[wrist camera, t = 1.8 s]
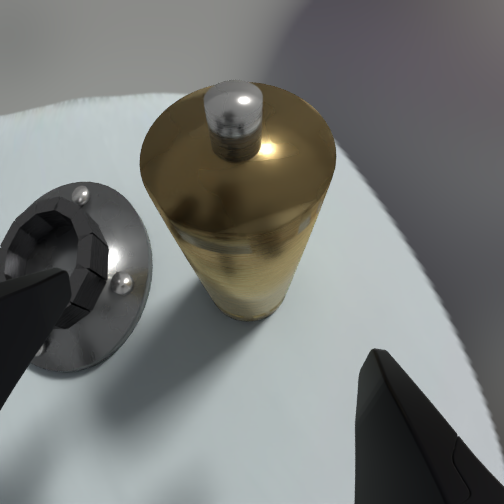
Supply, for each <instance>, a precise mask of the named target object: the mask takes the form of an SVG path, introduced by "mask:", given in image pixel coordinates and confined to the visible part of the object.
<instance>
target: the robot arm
mask: <svg viewBox="0 0 504 504" xmlns="http://www.w3.org/2000/svg"><path fill="white" fill-rule="evenodd" d="M71 296H72V291H71V285H70V279H69V274H68V272H67V271H66V270H64V269H61V268H57V267H56V268H52V269H48V270H44V271H40V272H36V273H32V274H29V275H25V276H21V277H17V278H14V279H10V280H6V281H2V282H0V410H1V409H2V407H3V405H4V403H5V402H6V400H7V399H8V397H9V395H10V394H11V392H12V390H13V389H14V387H15V386H16V384H17V382H18V381H19V379H20V378H21V376H22V375H23V373H24V372H25V370H26V369H27V367H28V366H29V364H30V363H31V361H32V360H33V358H34V357H35V355H36V354H37V352H38V351H39V350H40V348H41V347H42V345H43V344H44V342H45V341H46V339H47V338H48V337H49V335H50V333H51V332H52V330H53V328H54V327H55V325H56V323H57V321H58V320H59V318H60V316H61V315H62V313H63V311H64V310H65V308H66V307H67V305H68V303H69V302H70V300H71ZM354 504H504V486H503V485H502V484H501V483H500V482H499V481H498V480H497V479H496V478H495V477H494V476H493V475H492V474H491V473H490V472H489V471H488V469H487V468H486V467H485V466H484V465H483V464H482V463H481V462H480V461H479V460H478V459H477V457H476V456H475V455H474V454H473V453H472V451H471V450H470V449H469V448H468V447H467V445H466V444H465V443H464V442H463V440H462V439H461V438H460V437H459V436H458V437H457V433H456V432H455V431H454V429H453V428H452V427H451V426H450V425H449V423H448V422H447V421H446V420H445V418H444V417H443V416H442V415H441V414H440V412H439V411H438V410H437V409H436V408H435V406H434V405H433V404H432V403H431V402H430V400H429V399H428V398H427V397H426V396H425V394H424V393H423V392H422V391H421V390H420V389H419V387H418V386H417V385H416V384H415V383H414V382H413V380H412V379H411V378H410V377H409V376H408V374H407V373H406V372H405V371H404V370H403V369H402V368H401V366H400V365H399V364H398V363H397V362H396V361H395V359H394V358H393V357H392V356H391V355H390V354H389V353H388V352H387V351H386V350H382V349H376V348H374V349H372V350H371V351H370V352H369V354H368V356H367V358H366V360H365V362H364V364H363V366H362V368H361V370H360V373H359V379H358V394H357V407H356V419H355V503H354Z"/></svg>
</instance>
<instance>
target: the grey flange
mask: <svg viewBox="0 0 504 504" xmlns="http://www.w3.org/2000/svg"><path fill="white" fill-rule="evenodd" d="M15 221H16V222H15ZM15 221H14V222H13V223H12V225H11V227H10V229H9V230H8V232H7V234H6V236H5V238H4V240H3V242H2V243H1V245H0V246H1V247H2V248H0V282H2V281H6V280H10V279H14V278H17V277H21V276H25V275H29V274H32V273H36V272H40V271H44V270H48V269H52V268H56V267H57V268H61V269H64V270H66V271H67V272H68V274H69V279H70V285H71V291H72V296H71V300H70V302H69V303H68V305H67V307H66V308H65V310H64V311H63V313H62V315H61V316H60V318H59V320H58V321H57V323H56V325H55V327H54V328H53V330H52V332H51V333H50V335H49V337H48V338H47V339H46V341H45V342H44V344H43V345H42V347H41V348H40V350H39V351H38V352H37V354H36V355H35V357H34V358H33V360H32V361H31V363H32V364H34V365H35V366H38V367H41V368H43V369H47V370H52V371H78V370H83V369H86V368H89V367H92V366H95V365H96V364H98V363H100V362H102V361H104V360H105V359H107V358H108V357H109V356H110V355H112V354H113V353H114V352H116V350H117V349H118V348H119V347H120V346H121V345H122V344H123V343H124V342H125V341H126V340H127V338H128V337H129V336H130V334H131V333H132V332H133V330H134V328H135V326H136V325H137V323H138V321H139V319H140V317H141V315H142V312H143V310H144V308H145V305H146V302H147V298H148V295H149V291H150V285H151V280H152V266H153V265H152V251H151V245H150V240H149V237H148V234H147V230H146V228H145V226H144V224H143V222H142V220H141V218H140V217H139V215H138V214H137V212H136V211H135V209H134V208H133V206H132V205H131V204H130V203H129V201H128V200H127V199H126V198H125V197H124V196H123V195H121V194H120V193H119V192H117V191H116V190H114V189H112V188H110V187H108V186H106V185H102V184H99V183H93V182H76V183H70V184H67V185H63V186H60V187H58V188H56V189H53V190H51V191H50V192H48V193H46V194H44V195H43V196H42V197H40V198H39V199H37V200H36V201H35V202H34V203H33V204H32V205H30V206H29V207H28V208H27V209H26V210H25V211H24V212H23V213H22V214H21V215H19V216H18V217H17V218H16V219H15Z"/></svg>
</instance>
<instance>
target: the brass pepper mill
mask: <svg viewBox="0 0 504 504" xmlns="http://www.w3.org/2000/svg"><path fill="white" fill-rule="evenodd" d="M335 165H336V147H335V142H334V138H333V135H332V133H331V131H330V129H329V127H328V125H327V124H326V122H325V120H324V119H323V118H322V116H321V115H320V114H319V113H318V112H317V111H316V110H315V109H314V108H313V107H312V106H311V105H310V104H308V103H307V102H306V101H304V100H303V99H301V98H300V97H298V96H296V95H295V94H292V93H290V92H288V91H286V90H284V89H281V88H278V87H275V86H271V85H266V84H261V83H253V82H246V81H241V80H230V81H224V82H221V83H218V84H216V85H213V86H209V87H206V88H203V89H200V90H197V91H195V92H193V93H190V94H188V95H186V96H185V97H183V98H181V99H179V100H178V101H176V102H175V103H173V104H172V105H171V106H169V107H168V108H167V109H166V110H165V111H164V112H163V113H162V114H161V115H160V116H159V117H158V118H157V119H156V120H155V122H154V123H153V125H152V126H151V127H150V129H149V131H148V133H147V135H146V137H145V139H144V142H143V145H142V149H141V153H140V172H141V177H142V181H143V184H144V186H145V188H146V190H147V192H148V194H149V196H150V198H151V199H152V201H153V203H154V205H155V206H156V208H157V210H158V212H159V213H160V215H161V217H162V218H163V220H164V222H165V223H166V225H167V227H168V229H169V230H170V232H171V234H172V235H173V237H174V239H175V240H176V242H177V244H178V245H179V247H180V248H181V250H182V252H183V253H184V255H185V257H186V258H187V260H188V261H189V263H190V265H191V266H192V268H193V270H194V271H195V273H196V274H197V276H198V278H199V279H200V281H201V282H202V284H203V285H204V287H205V289H206V290H207V292H208V293H209V295H210V296H211V298H212V299H213V301H214V303H215V304H216V306H217V307H218V308H219V309H220V310H221V311H222V312H223V313H224V314H226V315H227V316H229V317H231V318H233V319H236V320H240V321H257V320H260V319H263V318H265V317H267V316H269V315H271V314H272V313H273V312H274V311H276V310H277V308H278V307H279V306H280V305H281V303H282V302H283V300H284V298H285V295H286V293H287V290H288V288H289V286H290V283H291V281H292V279H293V276H294V274H295V271H296V269H297V266H298V264H299V262H300V259H301V257H302V254H303V252H304V249H305V247H306V244H307V242H308V239H309V237H310V234H311V232H312V229H313V227H314V224H315V222H316V219H317V216H318V214H319V211H320V209H321V206H322V203H323V201H324V198H325V196H326V193H327V190H328V188H329V185H330V182H331V180H332V177H333V173H334V170H335Z"/></svg>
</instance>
